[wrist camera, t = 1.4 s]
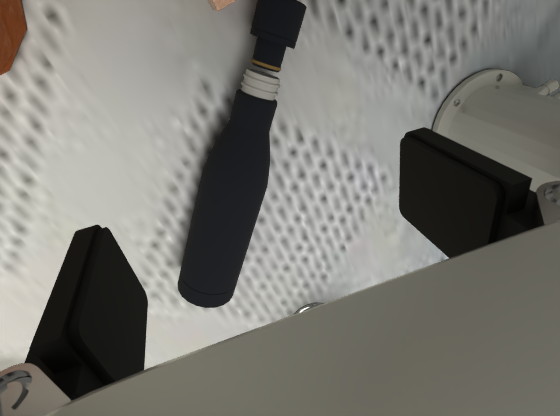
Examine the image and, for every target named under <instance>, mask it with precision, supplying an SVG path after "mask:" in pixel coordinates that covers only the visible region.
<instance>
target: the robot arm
mask: <svg viewBox="0 0 560 416" xmlns="http://www.w3.org/2000/svg"><path fill="white" fill-rule="evenodd" d="M558 88H559V83H558V81H557V80H555V79H551V80H549V81H547V82H546V83H544V84H542V85H541V86H540V87H538V88H533V87H529V86H524V84H523V82H522V80H521V79H520V78H519V77H518V76H517V75H516V74H514V73H512V72H510V71H506V70H502V69H489V70H484V71H481V72H479V73H476V74H474V75H472V76H471V77H469V78H467V79H466V80H465V81H463V82H462V83H461V84H460V85H458V86H457V87H456V88H455V89H454V91H453V92H452V93H451V94H450V95H449V96H448V98H447V99H446V101H445V102H444V103H443V105H442V107H441V109H440V111H439V112H438V114H437V117H436V120H435V122H434V126H433V131H432V130H430V129H428V128H425V127H423V128H420V129H416V130H413V131H410V132H407V133H406V134H405V136H404V138H402V139H401V142H400V187H399V209H400V212H401V214H402V216H403V217H404V218H405V219H406V220H407V221H408V222H410V223H411V224H412V225H413V226H414V227H415V228H416V229H417V230H419V231H420V232H421V233H422V234H423V235H424V236H425V237H426V238H427V239H429V240H430V241H431V242H432V243H433V244H434V245H435V246H436V247H438V248H439V249H440V250H441V251H442V252H443V253H444V254H445V255H447V256H448V257H449V259H446V260H444V261H441V262H438V263H435V264H432V265H430V266H427V267H424V268H421V269H418V270H416V271H413V272H410V273H407V274H404V275H402V276H399V277H396V278H393V279H390V280H388V281H385V282H382V283H379V284H377V285H374V286H371V287H368V288H366V289H363V290H360V291H357V292H355V293H352V294H349V295H346V296H344V297H341V298H338V299H335V300H333V301H330V302H327V303H324V304H322V305H319V306H316V307H313V308H311V309H308V310H305V311H302V312H300V313H297V314H294V315H291V316H289V317H286V318H283V319H281V320H278V321H275V322H272V323H270V324H267V325H264V326H262V327H259V328H256V329H253V330H251V331H248V332H245V333H243V334H240V335H237V336H235V337H232V338H229V339H226V340H224V341H221V342H218V343H216V344H213V345H210V346H207V347H205V348H202V349H199V350H197V351H194V352H191V353H189V354H186V355H183V356H180V357H178V358H175V359H172V360H170V361H167V362H164V363H161V364H159V365H156V366H153V367H151V368H148V369H146V370H144V361H145V343H146V326H147V308H148V300H147V295H146V293H145V291H144V289H143V287H142V285H141V284H140V282H139V280H138V278H137V277H136V275H135V273H134V271H133V270H132V268H131V266H130V264H129V263H128V261H127V259H126V257H125V256H124V254H123V252H122V250H121V249H120V247H119V245H118V243H117V242H116V240H115V238H114V236H113V235H112V233H111V231H110V230H109V229H108V228H107V227H105V228H101V227H100V226H99V225H95V226H91V227H88V228H84V229H81V230H78V231H76V232H75V234H74V236H73V239H72V241H71V244H70V246H69V249H68V251H67V254H66V257H65V259H64V262H63V264H62V267H61V269H60V272H59V274H58V277H57V280H56V282H55V285H54V287H53V290H52V292H51V295H50V297H49V300H48V302H47V305H46V308H45V310H44V313H43V315H42V318H41V320H40V323H39V325H38V328H37V331H36V333H35V336H34V338H33V341H32V343H31V346H30V348H29V349H30V350H29V352H28V355H27V358H26V360H25V363H21V364H18V365H14V366H11V367H9V368H7V369H5V370H3V371H1V372H0V416H560V91H559V92H557V93H555V94H553V95H552V96H550V97H549V96H546V95H549V94H550V93H552V92H554V91H555V90H557V89H558Z"/></svg>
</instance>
